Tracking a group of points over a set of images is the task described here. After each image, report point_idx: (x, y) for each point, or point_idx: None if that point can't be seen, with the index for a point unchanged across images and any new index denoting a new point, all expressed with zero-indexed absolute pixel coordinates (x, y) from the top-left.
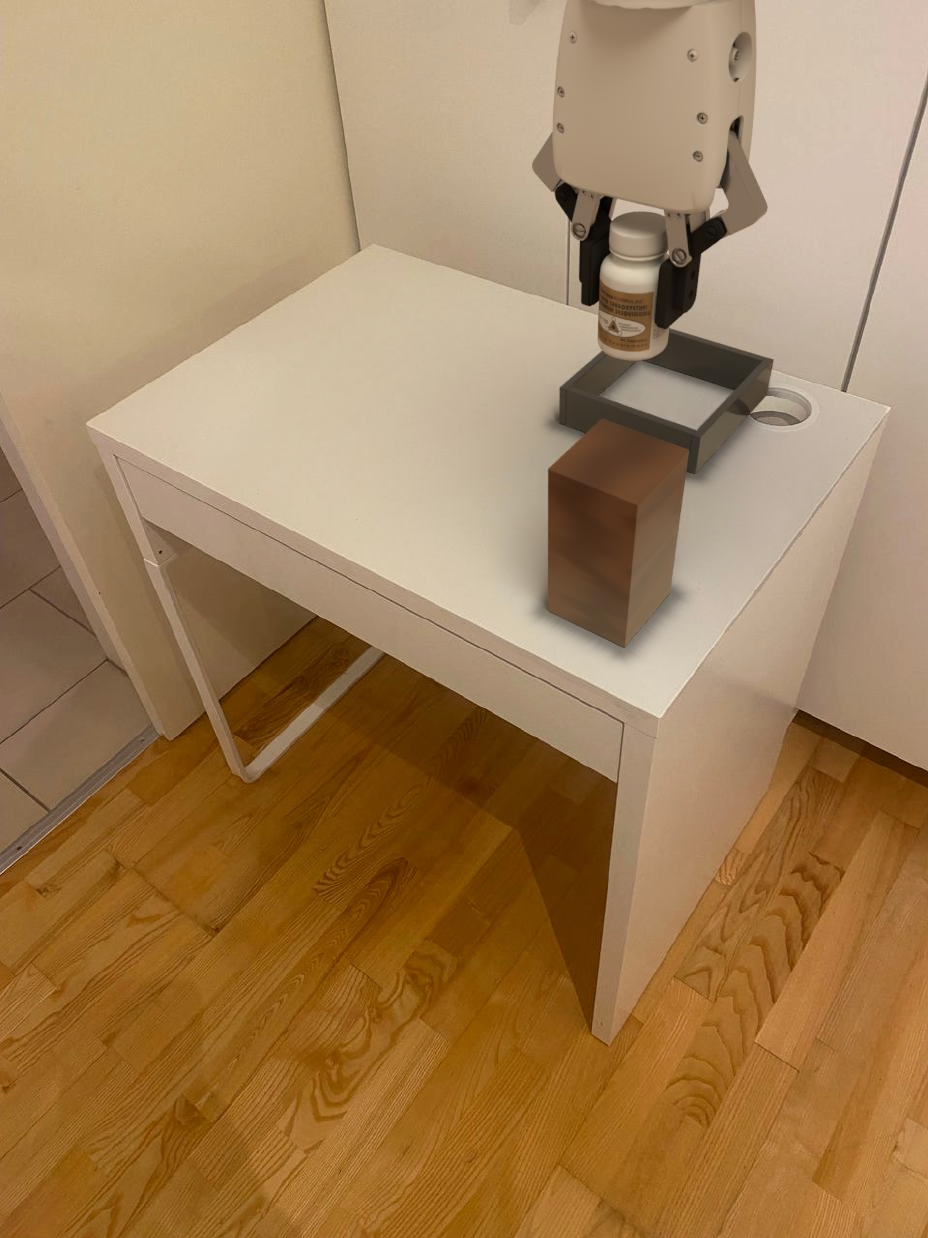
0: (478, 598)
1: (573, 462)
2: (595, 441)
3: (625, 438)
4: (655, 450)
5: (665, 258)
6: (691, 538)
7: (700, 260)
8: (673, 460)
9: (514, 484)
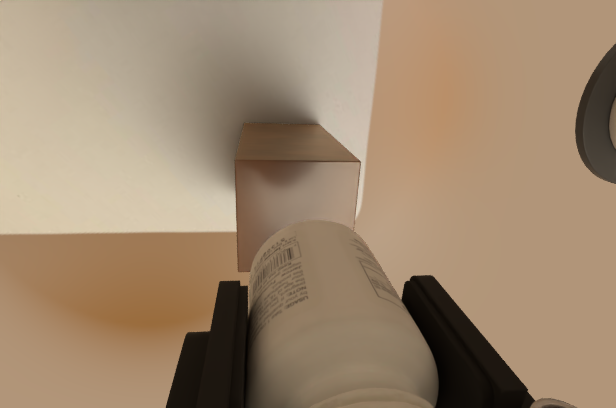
0: (190, 213)
1: (256, 250)
2: (255, 205)
3: (284, 182)
4: (326, 183)
5: (420, 389)
6: (305, 45)
7: (532, 398)
8: (352, 189)
9: (102, 62)
